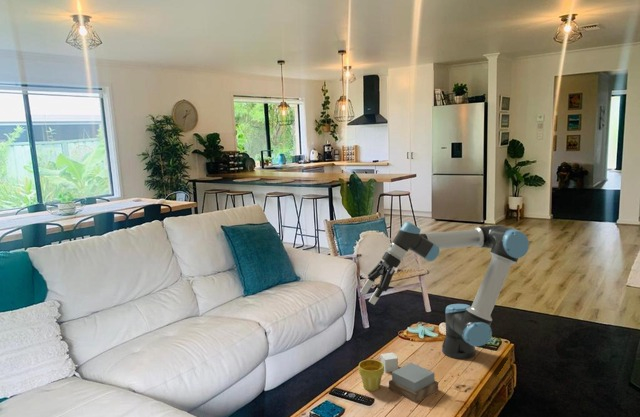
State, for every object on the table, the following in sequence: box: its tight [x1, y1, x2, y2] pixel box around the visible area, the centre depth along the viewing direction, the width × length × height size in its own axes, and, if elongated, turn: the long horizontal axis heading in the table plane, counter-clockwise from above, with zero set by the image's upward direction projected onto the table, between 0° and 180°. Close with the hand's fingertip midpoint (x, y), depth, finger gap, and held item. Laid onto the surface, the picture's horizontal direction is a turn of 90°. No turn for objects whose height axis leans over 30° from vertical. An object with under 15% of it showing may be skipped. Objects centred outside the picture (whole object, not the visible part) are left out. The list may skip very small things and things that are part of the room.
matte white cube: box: [380, 352, 399, 373], centre depth 206 cm, size 6×6×6 cm
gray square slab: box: [391, 362, 435, 392], centre depth 187 cm, size 12×12×4 cm
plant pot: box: [358, 358, 385, 392], centre depth 190 cm, size 10×10×10 cm
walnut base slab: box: [388, 379, 439, 404], centre depth 187 cm, size 14×14×4 cm
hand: (366, 298), depth 194 cm, fingers open, 13 cm apart
